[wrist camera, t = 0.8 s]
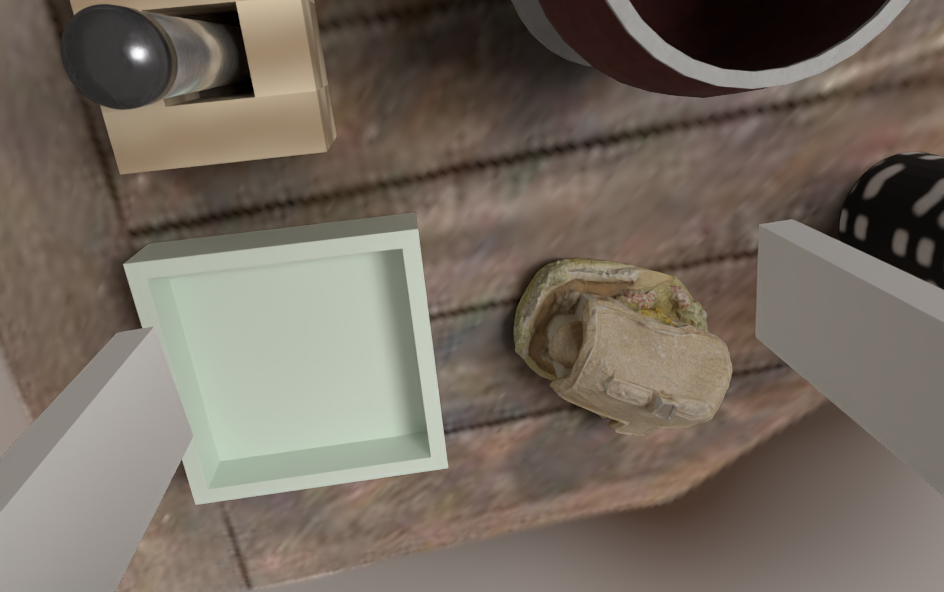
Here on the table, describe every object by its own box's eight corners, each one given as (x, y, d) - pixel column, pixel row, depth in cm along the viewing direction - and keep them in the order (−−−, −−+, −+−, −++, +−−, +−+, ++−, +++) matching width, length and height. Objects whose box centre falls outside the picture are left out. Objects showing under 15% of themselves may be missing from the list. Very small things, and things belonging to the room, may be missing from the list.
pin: (193, 25, 35) (46, 9, 20) (253, 19, 36) (151, -1, 21) (207, 87, 36) (78, 114, 22) (265, 81, 37) (177, 104, 22)
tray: (148, 243, 39) (123, 264, 35) (415, 212, 40) (417, 229, 36) (212, 466, 45) (195, 504, 41) (443, 434, 46) (448, 468, 42)
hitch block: (109, -40, 34) (53, -57, 28) (304, -57, 34) (287, -77, 29) (160, 155, 37) (120, 174, 32) (336, 136, 38) (326, 151, 33)
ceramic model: (733, 297, 45) (821, 362, 36) (658, 431, 48) (721, 523, 39) (550, 226, 42) (595, 277, 32) (482, 375, 45) (506, 460, 36)
